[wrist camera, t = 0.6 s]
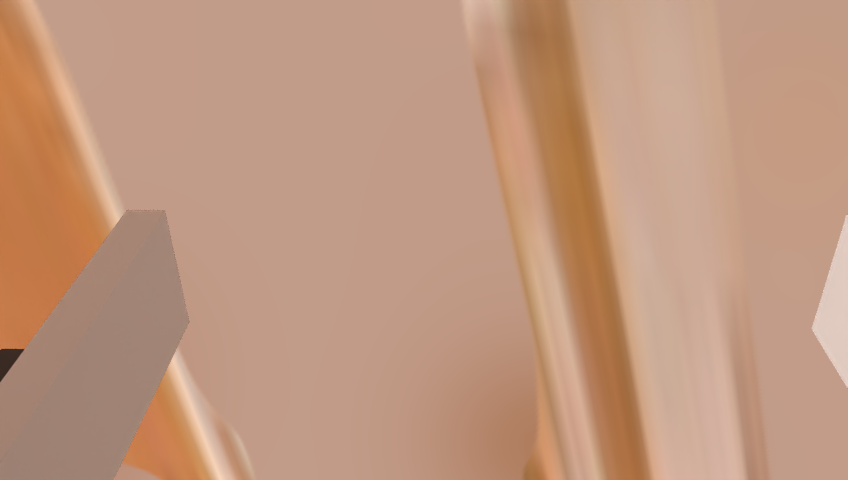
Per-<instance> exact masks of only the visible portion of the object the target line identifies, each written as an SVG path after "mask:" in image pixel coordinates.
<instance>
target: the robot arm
mask: <svg viewBox="0 0 848 480" xmlns="http://www.w3.org/2000/svg"><path fill="white" fill-rule="evenodd" d="M188 324H189V318H188V313H187V308H186V304H185V299H184V295H183V290H182V286H181V281H180V276H179V272H178V267H177V263H176V259H175V254H174V249H173V245H172V240H171V236H170V231H169V226H168V222H167V217H166V213H165V211H164V210H127V211H126V212H125V213H124V215H123V216H122V217H121V219H120V220H119V222H118V223H117V224H116V226H115V227H114V228H113V230H112V231H111V232H110V234H109V235H108V236H107V238H106V239H105V241H104V242H103V243H102V245H101V246H100V247H99V249H98V250H97V251H96V253H95V254H94V256H93V257H92V258H91V260H90V261H89V262H88V264H87V265H86V266H85V268H84V269H83V271H82V272H81V273H80V275H79V276H78V277H77V279H76V280H75V281H74V283H73V284H72V285H71V287H70V288H69V290H68V291H67V292H66V294H65V295H64V296H63V298H62V299H61V300H60V302H59V303H58V305H57V306H56V307H55V309H54V310H53V311H52V313H51V314H50V315H49V317H48V318H47V319H46V321H45V322H44V324H43V325H42V326H41V328H40V329H39V330H38V332H37V333H36V334H35V336H34V337H33V339H32V340H31V341H30V343H29V344H28V345H27V347H26V348H25V349H1V350H0V480H113V479H114V478H115V476H116V474H117V472H118V469H119V467H120V465H121V463H122V461H123V459H124V457H125V455H126V453H127V451H128V449H129V447H130V445H131V442H132V440H133V438H134V436H135V434H136V432H137V430H138V428H139V426H140V424H141V422H142V420H143V417H144V415H145V413H146V411H147V409H148V407H149V405H150V403H151V401H152V399H153V397H154V395H155V393H156V390H157V388H158V386H159V384H160V382H161V380H162V378H163V376H164V374H165V372H166V370H167V368H168V365H169V363H170V361H171V359H172V357H173V355H174V353H175V351H176V349H177V347H178V345H179V343H180V340H181V338H182V336H183V334H184V332H185V330H186V328H187V326H188ZM812 330H813V332H814V333H815V335H816V337H817V339H818V340H819V342H820V344H821V345H822V347H823V348H824V350H825V352H826V353H827V355H828V357H829V358H830V360H831V362H832V363H833V365H834V367H835V368H836V370H837V371H838V373H839V375H840V377H841V378H842V379H843V381H844V383H845V385H846V386H847V388H848V214H847V215H846V219H845V222H844V225H843V228H842V232H841V235H840V238H839V242H838V245H837V248H836V251H835V255H834V258H833V261H832V264H831V268H830V271H829V274H828V278H827V281H826V284H825V288H824V291H823V294H822V297H821V301H820V304H819V307H818V310H817V314H816V317H815V320H814V323H813V327H812Z"/></svg>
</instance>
